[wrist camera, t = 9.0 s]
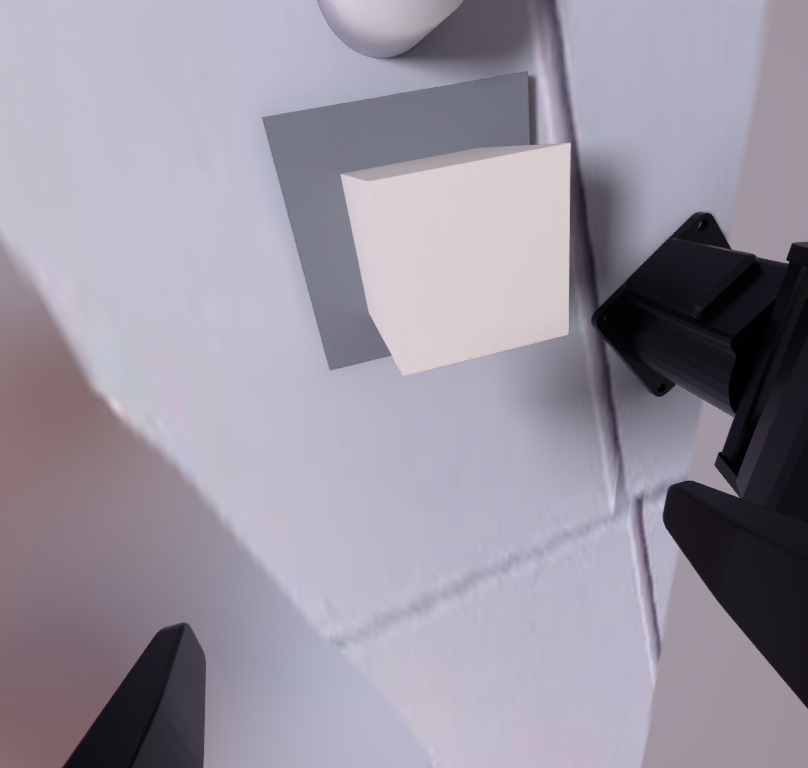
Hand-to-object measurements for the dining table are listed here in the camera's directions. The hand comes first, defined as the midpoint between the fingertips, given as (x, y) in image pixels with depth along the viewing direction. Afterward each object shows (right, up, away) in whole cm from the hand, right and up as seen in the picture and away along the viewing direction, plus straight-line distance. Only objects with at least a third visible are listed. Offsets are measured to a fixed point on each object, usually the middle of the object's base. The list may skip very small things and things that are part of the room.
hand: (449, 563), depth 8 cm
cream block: (0, +9, +9) cm, 12 cm away
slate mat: (0, +9, +9) cm, 13 cm away
